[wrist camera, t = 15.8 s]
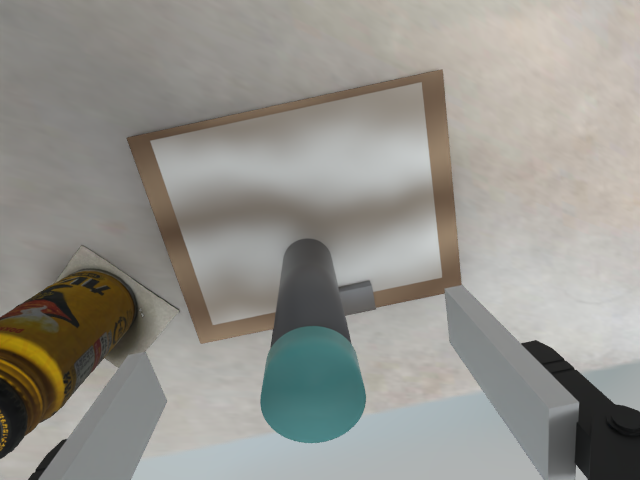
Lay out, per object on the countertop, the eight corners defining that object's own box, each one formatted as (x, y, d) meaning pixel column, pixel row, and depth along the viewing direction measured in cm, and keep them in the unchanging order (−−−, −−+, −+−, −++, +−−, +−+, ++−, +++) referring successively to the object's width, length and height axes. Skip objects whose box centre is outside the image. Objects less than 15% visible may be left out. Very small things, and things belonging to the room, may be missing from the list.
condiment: (82, 244, 26) (-90, 335, 15) (180, 309, 28) (95, 435, 16) (33, 312, 27) (-159, 443, 16) (129, 370, 29) (19, 524, 18)
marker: (278, 240, 25) (252, 363, 12) (330, 234, 25) (362, 351, 12) (285, 287, 27) (268, 448, 13) (335, 282, 27) (368, 436, 13)
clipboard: (132, 137, 24) (118, 138, 22) (437, 71, 24) (449, 66, 22) (203, 338, 29) (196, 352, 27) (457, 285, 28) (468, 296, 27)
